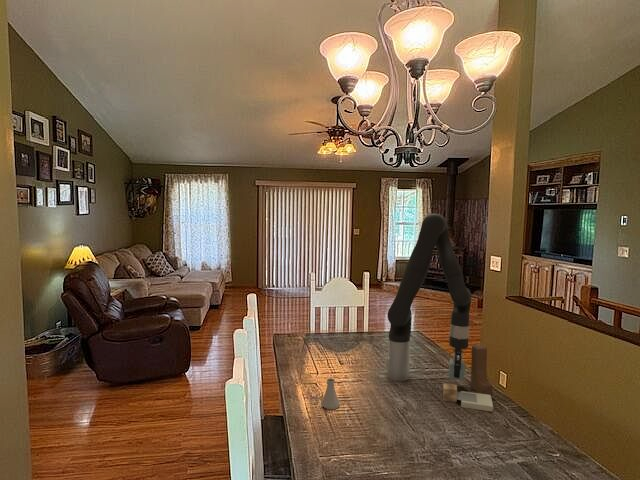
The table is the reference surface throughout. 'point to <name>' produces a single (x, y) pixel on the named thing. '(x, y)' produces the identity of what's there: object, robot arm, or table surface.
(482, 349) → the wooden block
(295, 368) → the table surface
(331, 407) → the flask
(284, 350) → the table surface
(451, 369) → the cube
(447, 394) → the oak block
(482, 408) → the foundation board
